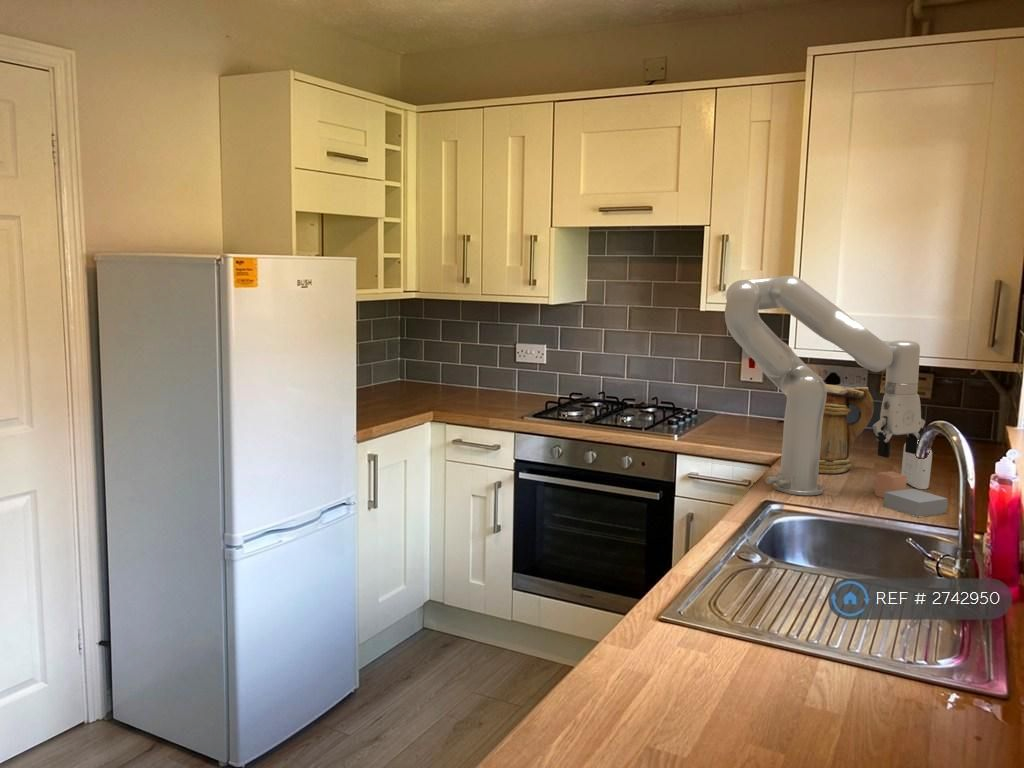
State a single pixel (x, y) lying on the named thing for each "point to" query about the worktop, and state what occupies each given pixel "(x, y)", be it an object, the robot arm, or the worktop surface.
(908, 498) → the slate block
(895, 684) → the worktop surface
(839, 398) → the tankard
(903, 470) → the photo printer
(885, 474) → the terracotta block
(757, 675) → the worktop surface
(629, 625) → the worktop surface
